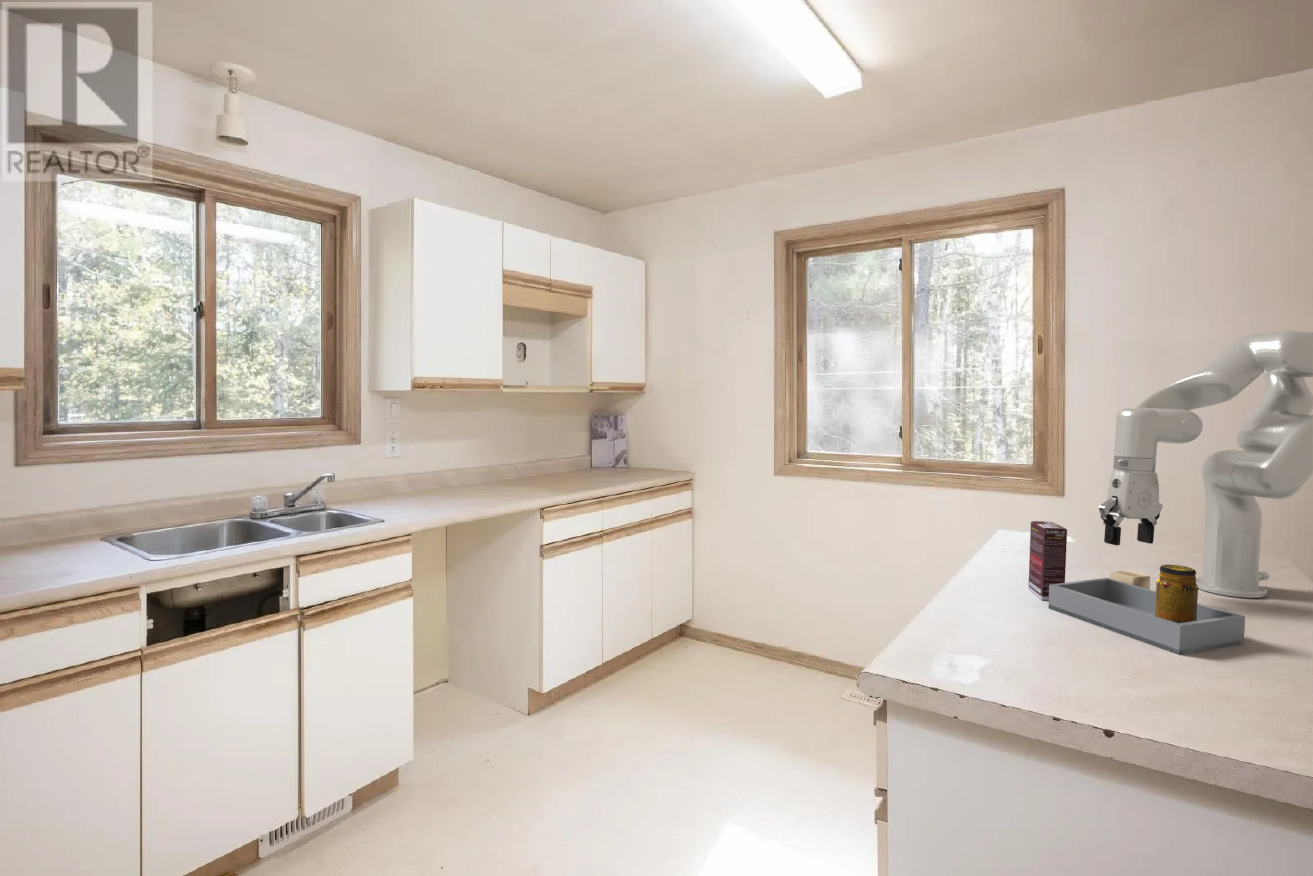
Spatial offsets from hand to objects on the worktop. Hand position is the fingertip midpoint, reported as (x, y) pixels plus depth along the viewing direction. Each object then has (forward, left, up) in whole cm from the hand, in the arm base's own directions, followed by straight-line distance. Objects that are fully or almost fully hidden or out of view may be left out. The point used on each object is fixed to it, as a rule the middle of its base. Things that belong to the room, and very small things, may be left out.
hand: (1128, 543), depth 146 cm
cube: (-1, 0, -12) cm, 12 cm away
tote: (+15, +14, -12) cm, 24 cm away
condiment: (+15, +21, -11) cm, 28 cm away
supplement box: (+16, -6, -12) cm, 21 cm away
